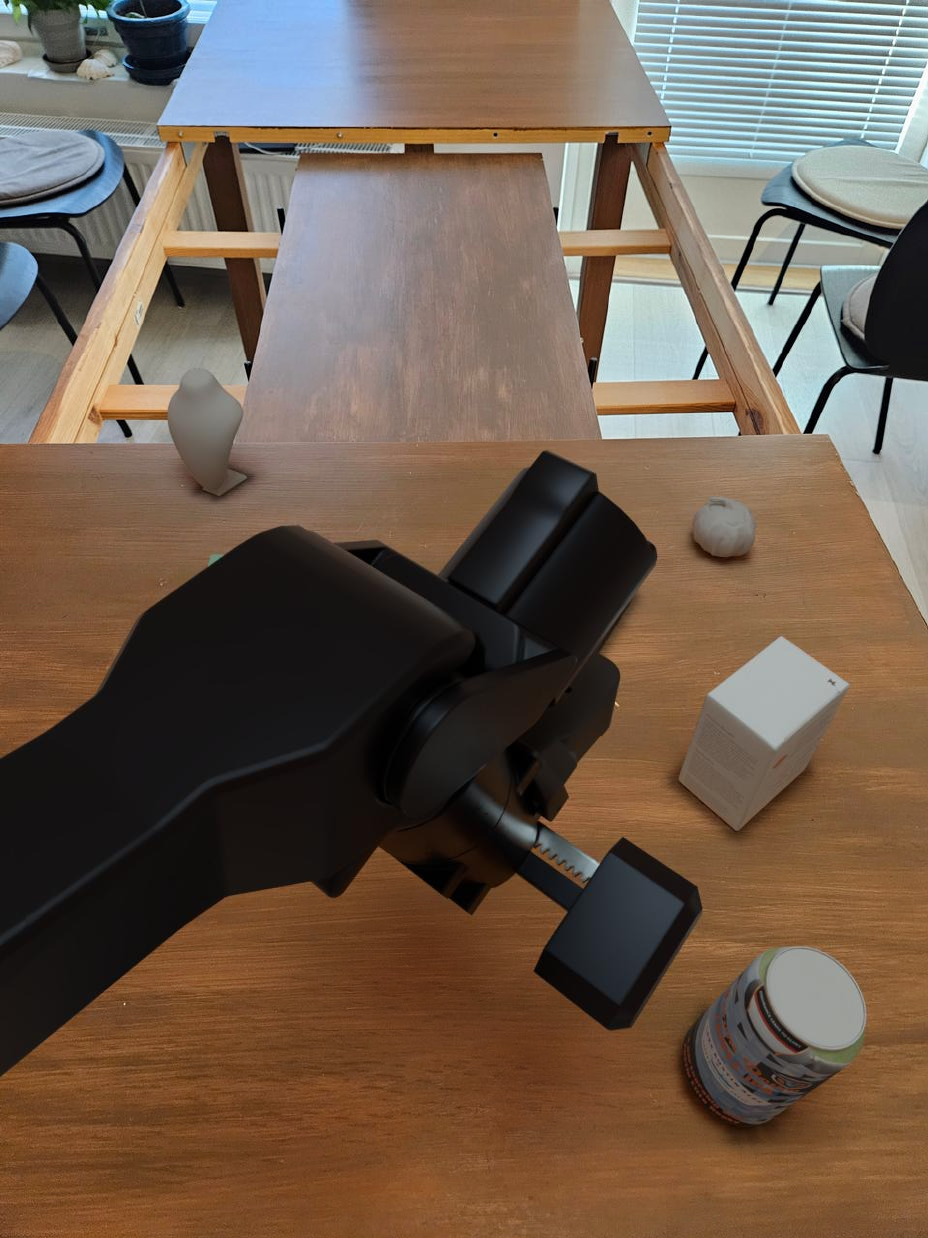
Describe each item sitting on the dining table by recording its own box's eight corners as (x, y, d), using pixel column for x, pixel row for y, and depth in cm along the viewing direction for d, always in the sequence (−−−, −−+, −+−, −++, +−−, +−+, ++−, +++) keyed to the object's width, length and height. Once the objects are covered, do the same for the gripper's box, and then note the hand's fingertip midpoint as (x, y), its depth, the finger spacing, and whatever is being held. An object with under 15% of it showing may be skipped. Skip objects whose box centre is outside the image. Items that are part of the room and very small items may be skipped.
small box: (744, 723, 68) (782, 631, 60) (806, 772, 65) (853, 682, 57) (674, 781, 64) (703, 691, 56) (735, 835, 61) (776, 749, 54)
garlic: (673, 538, 82) (683, 494, 78) (716, 517, 84) (728, 473, 80) (719, 577, 78) (733, 533, 74) (763, 554, 80) (778, 509, 76)
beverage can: (657, 1040, 52) (699, 961, 43) (764, 995, 54) (825, 911, 45) (714, 1155, 48) (772, 1094, 39) (827, 1102, 50) (907, 1033, 41)
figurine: (172, 487, 86) (138, 379, 77) (207, 458, 89) (179, 350, 80) (233, 512, 84) (206, 404, 75) (268, 480, 87) (246, 373, 78)
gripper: (797, 735, 29) (759, 838, 43) (376, 498, 37) (458, 650, 51) (607, 1036, 26) (632, 1043, 40) (197, 712, 34) (335, 811, 48)
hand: (506, 865), depth 45 cm, fingers open, 9 cm apart
